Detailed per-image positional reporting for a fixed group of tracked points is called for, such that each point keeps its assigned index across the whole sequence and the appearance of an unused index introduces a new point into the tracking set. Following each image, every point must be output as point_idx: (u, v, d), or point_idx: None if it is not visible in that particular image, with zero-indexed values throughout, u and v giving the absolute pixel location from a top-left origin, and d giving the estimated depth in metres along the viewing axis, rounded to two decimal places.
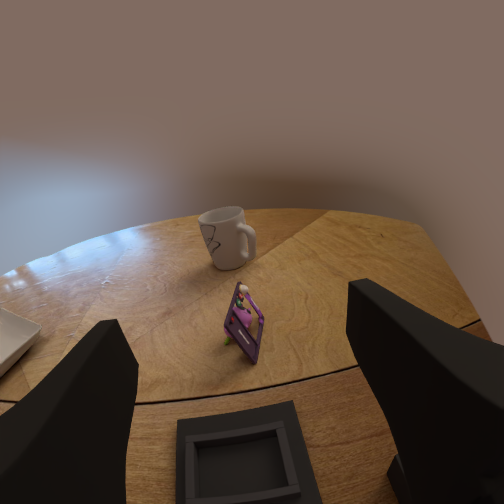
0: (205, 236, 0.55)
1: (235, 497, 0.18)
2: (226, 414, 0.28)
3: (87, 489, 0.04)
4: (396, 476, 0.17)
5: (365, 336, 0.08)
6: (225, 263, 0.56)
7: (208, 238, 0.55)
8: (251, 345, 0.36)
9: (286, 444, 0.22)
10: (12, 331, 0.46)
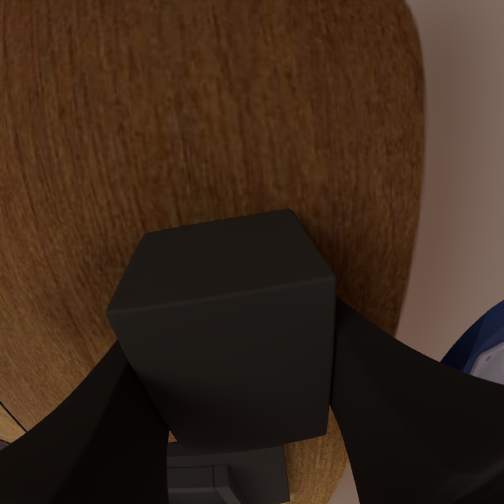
0: None
1: None
2: None
3: (137, 495, 0.04)
4: None
5: None
6: None
7: None
8: None
9: None
10: None
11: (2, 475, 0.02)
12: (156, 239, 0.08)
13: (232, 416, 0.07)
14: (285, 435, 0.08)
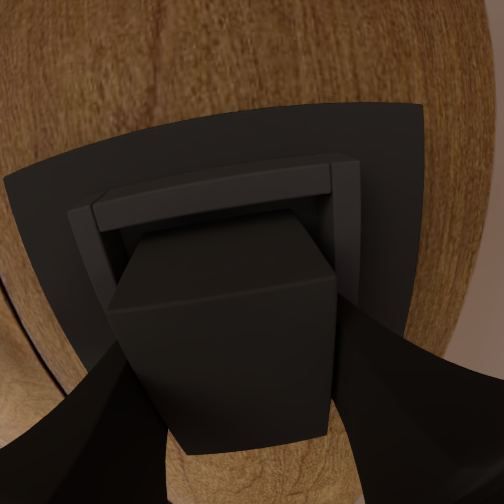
0: None
1: None
2: (71, 339, 0.10)
3: (135, 495, 0.04)
4: None
5: None
6: None
7: None
8: None
9: (162, 196, 0.07)
10: None
11: (1, 474, 0.02)
12: (156, 238, 0.08)
13: (232, 416, 0.07)
14: (285, 435, 0.08)
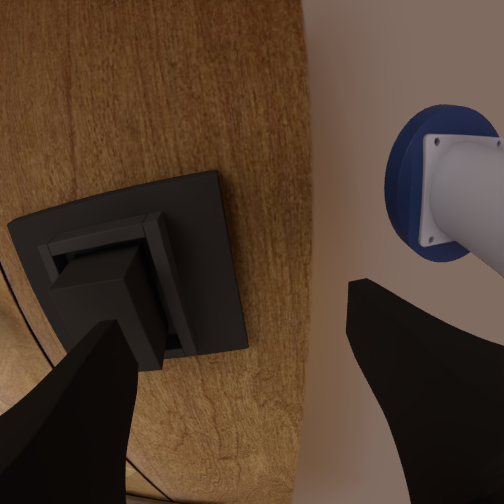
0: None
1: (171, 305, 0.17)
2: (45, 311, 0.18)
3: (87, 489, 0.04)
4: None
5: (365, 336, 0.08)
6: None
7: None
8: None
9: (74, 241, 0.14)
10: None
11: None
12: (78, 258, 0.16)
13: None
14: None
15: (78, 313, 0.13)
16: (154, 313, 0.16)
